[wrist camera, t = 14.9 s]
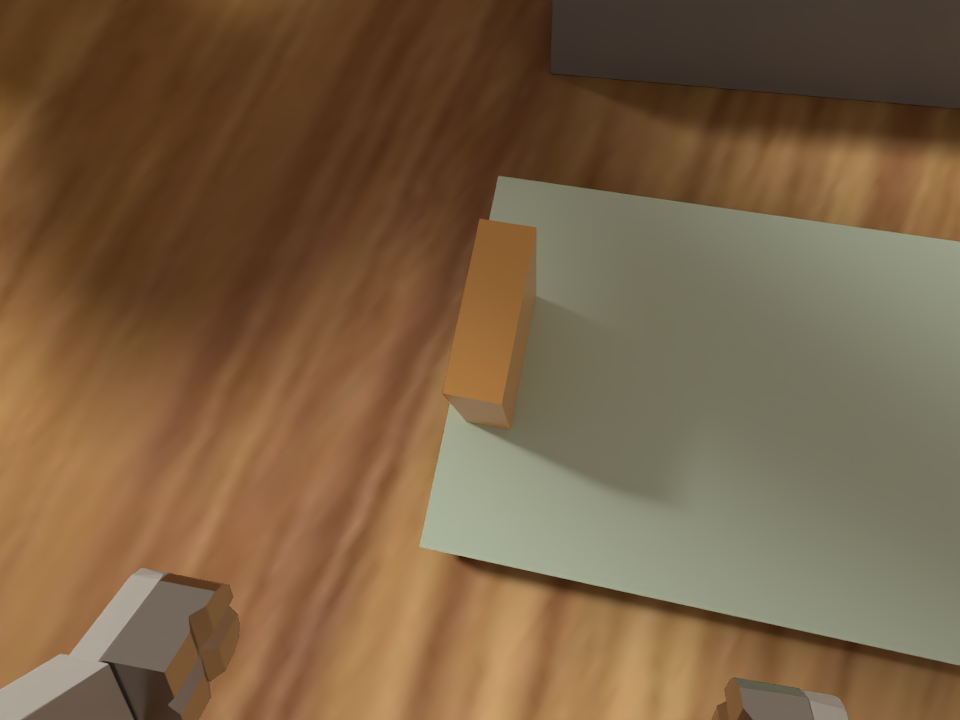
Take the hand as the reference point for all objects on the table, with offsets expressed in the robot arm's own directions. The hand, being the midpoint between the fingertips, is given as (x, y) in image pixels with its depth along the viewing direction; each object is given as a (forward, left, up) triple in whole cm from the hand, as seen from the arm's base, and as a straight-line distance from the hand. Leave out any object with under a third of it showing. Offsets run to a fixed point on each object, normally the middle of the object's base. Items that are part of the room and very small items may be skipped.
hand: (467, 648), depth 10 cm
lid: (+1, +10, -14) cm, 17 cm away
